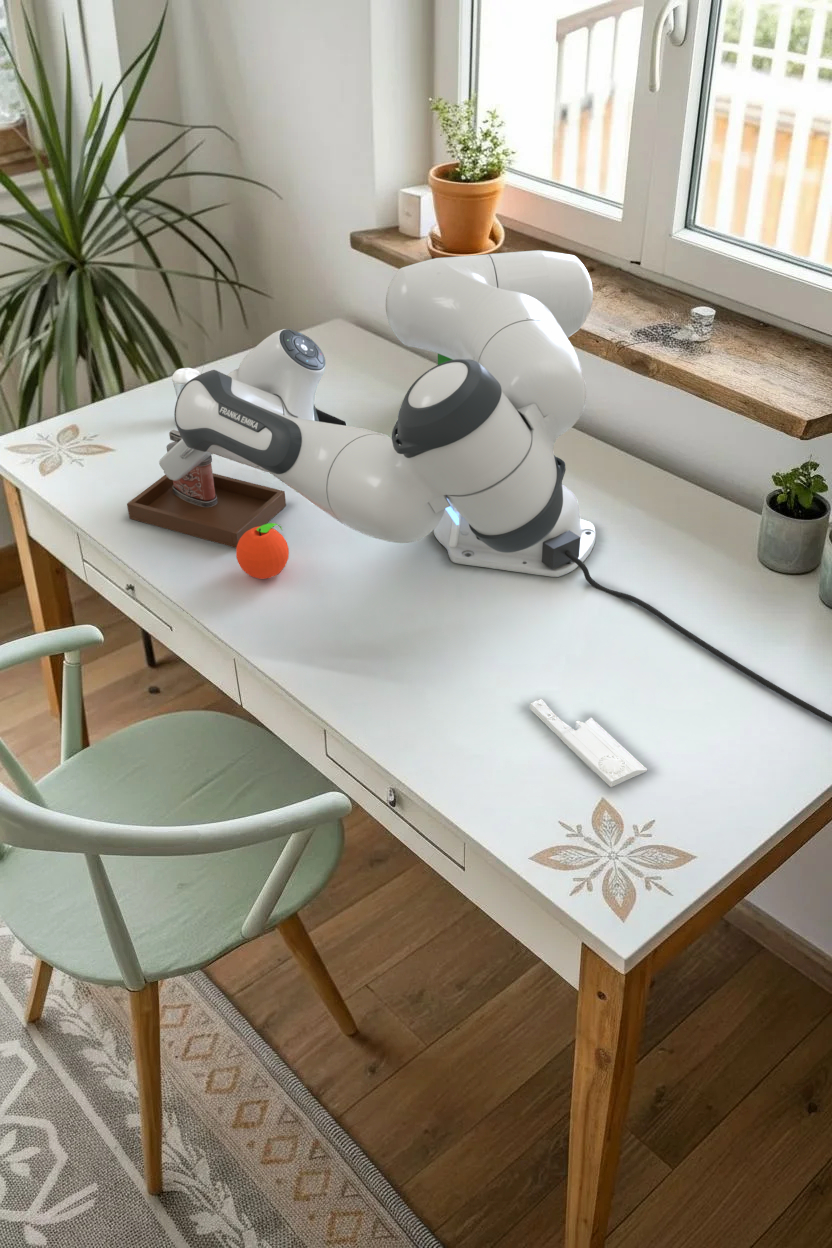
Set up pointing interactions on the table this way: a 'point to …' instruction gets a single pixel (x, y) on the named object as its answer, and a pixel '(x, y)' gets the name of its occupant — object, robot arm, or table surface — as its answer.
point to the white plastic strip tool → (592, 746)
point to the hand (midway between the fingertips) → (189, 459)
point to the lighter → (195, 480)
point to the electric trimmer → (329, 418)
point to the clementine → (262, 551)
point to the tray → (209, 509)
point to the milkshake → (183, 378)
